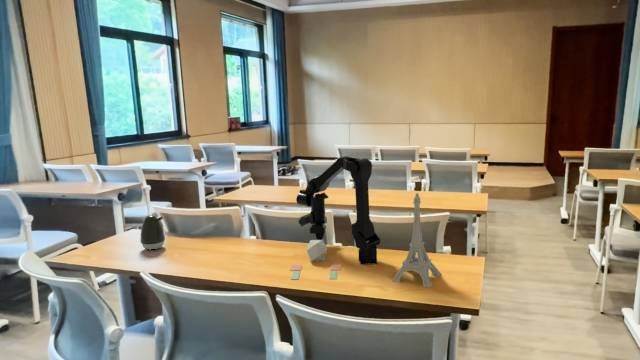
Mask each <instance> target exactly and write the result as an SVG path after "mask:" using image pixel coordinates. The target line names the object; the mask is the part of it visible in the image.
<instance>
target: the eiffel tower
mask: <svg viewBox="0 0 640 360" xmlns="http://www.w3.org/2000/svg"><path fill="white" fill-rule="evenodd" d="M421 203H422V201H421V198H420V195H419V192H416V193H415V196H414V198H413V202H412V204H413V205H414V213H413V214H414V215H413V225H412V226H413V227H412V235H411V236H412V237H411V241H410V243H409V247H410V248H409V249H408V252H407V256H406V258H405V260H404V261H402V262H401V264H402V266H401V267H400V269H399V270H398V271H397V272H396V274H395V276H394V277H393V278H392V280H391V282H397V283H400V282H401V281H402V280H403V278H402V277H403V275H404V274H405V273H406V272H411V271H414V272H416V273H417V274H419V275H420V277H421V280H422V286H421V287H425V288H430V289H431V287H433V283H432V281H431V278H430V275H429V274H430V273H429V270H430V272H431V276H433V277H440V276H441V275H442V272H440V271H439V270H438V269H439V268H437V267H436V265H434V263H433V262H432V258H429V256H428V253H427V251H426V249H425V246H424V245H425V242H423V233H422V225H421V211H420V210H421V209H420V204H421ZM416 255H417V256H416Z"/></svg>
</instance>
